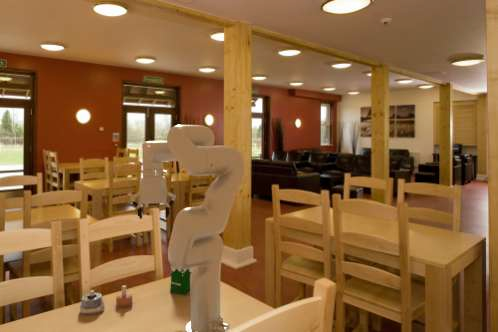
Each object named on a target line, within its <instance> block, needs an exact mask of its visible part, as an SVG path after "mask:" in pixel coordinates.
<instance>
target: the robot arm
mask: <svg viewBox="0 0 498 332" xmlns="http://www.w3.org/2000/svg"><path fill="white" fill-rule="evenodd" d="M215 139H216V138H215V134H214V131H212V129H210V127H207V126H206V125H199V124H177V125H173V126H172V127H171V128H170V129H169V130H168V132H167V135H166V140H148V141H144V142H142V147H141V150H142V155H141V157H142V176H141V178H140V182H139V192H136V193H135V194H132V195H131V196H129V200H130V201H131V203H132V205H133V206H135V208H136V209H137V217H139V219H140V220H141V219H143V208H142V206H143V205H145V204H146V205H147V204H164V206H165V211H164V212H165V218H166V219H167V218H168V216H169V215H170V207H171V206H172V205H174V203H175V201H176V199H177V195H176V194H174V193H172V192H170V191H168V187H167V179H166V176H164V175H167V174H168V170H165V169H164V162H178V163H179V165H180V166H181V168H182V169H183V170H184V171H185V172H186V173H187V174H188V175H189V176H193V177H206V176H217V177H216V178H215V179H214V180H213V181H212V183H211V184H210V185H209V187H208V188H207V190H206V192H205V196H204V199H203V201H202V203H201V204H199V205H195V206H189V207H185V208H182V209H181V210H180V211H179V212H178V213H177V214H176V216H175V219H174V222H173V226H172V231H171V235H170V238H169V243H168V247H167V259H168V262H169V264H170V267H171V266H172V267H173V268H175V269H178V270H182V269H187V268H191V267H193V269H192V272H191V276H190V292H189V295H190V297H189V299H190V300H189V301H190V303H189V307H190V309H189V311H190V312H189V313H190V314H189V315H190V321H189V322H188V323H187V324H186V326H185V332H195V331H198V332H225V331H227V330H228V331H229V329H230V324H229V323H225V322H224V316H222V315H221V269H222V267H221V266H222V261H223V256H224V255H223V254H224V250H225V249H224V242H223V239H222V236H220V234H221V233H223V232H224V230H225V229H226V226H227V224H228V222H229V217H230V214H231V211H232V209H233V205H234V201H235V198H236V196H237V193H238V191H239V189H240V188H241V185H242V183H243V179H244V176H245V169H246V167H245V160H244V157H243V154H242V152H240V150H238V149H237V148H236V147H233V146H229V145H214V143H215ZM168 196H169V197H171V199H170V200H169V201H168ZM138 197H139V203H138V202H137V201H136V199H137V198H138Z"/></svg>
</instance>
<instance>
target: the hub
mask: <svg viewBox="0 0 498 332" xmlns="http://www.w3.org/2000/svg"><path fill="white" fill-rule="evenodd" d="M88 291H89V293H88V294H89V295H90V299H92V298H95V297H94V293H95V290H94V289H91V290H88ZM104 310H105V301H104V300H102V304H101V306H99V307H97V308H94V309H84V308H82V306H81V304H80V306H79V313H80V315H82V316H87V317H88V316H95V315H98V314H100V313H102V312H104Z"/></svg>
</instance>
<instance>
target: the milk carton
mask: <svg viewBox="0 0 498 332" xmlns="http://www.w3.org/2000/svg"><path fill="white" fill-rule="evenodd" d="M192 269H193V267H191V268H187V269H182V270H178V269H175V268H173V267H172V266H171V265H170V278H171V279H170V287H169V288H170V289H169V292H170V293H171V294H172V293H173V294H177V295H180V296H186V295H188V294H190V276H191V272H192Z"/></svg>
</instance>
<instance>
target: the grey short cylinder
mask: <svg viewBox="0 0 498 332" xmlns="http://www.w3.org/2000/svg"><path fill="white" fill-rule="evenodd" d="M94 297H95V298H92V299H90V295H89V293H86V294H84V295H82V297H81V300H80V302H81V303H80V305H81V306H82V308H84V309H94V308H97V307H99V306H101V304H102V301H103V294H102V293H99V292H94Z"/></svg>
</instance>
